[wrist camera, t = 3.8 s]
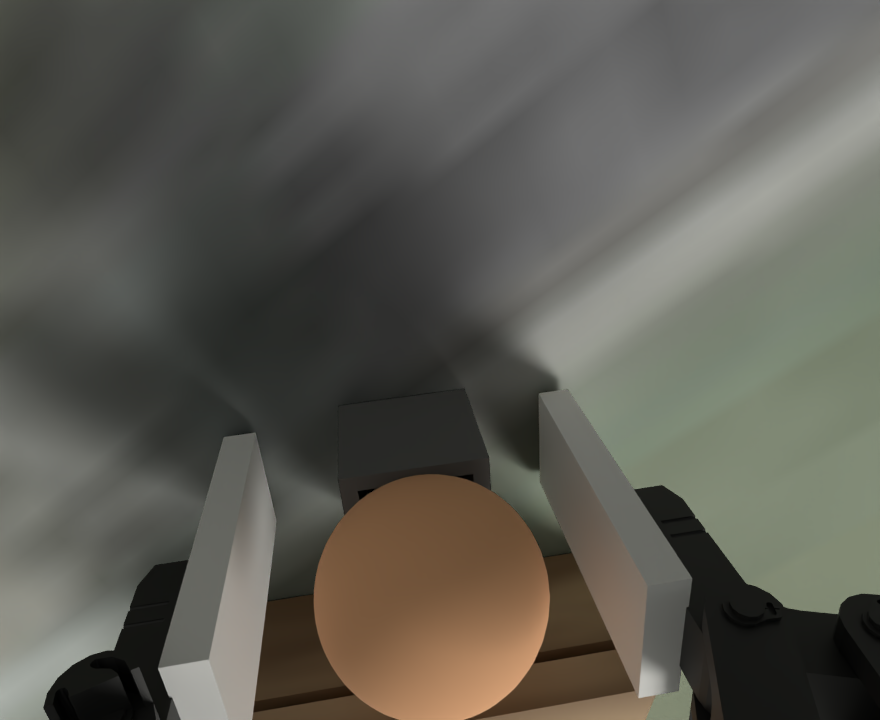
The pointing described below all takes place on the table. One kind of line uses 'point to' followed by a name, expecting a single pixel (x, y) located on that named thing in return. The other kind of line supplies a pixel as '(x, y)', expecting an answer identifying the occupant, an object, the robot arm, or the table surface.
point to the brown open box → (516, 716)
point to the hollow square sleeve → (408, 442)
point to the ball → (431, 598)
